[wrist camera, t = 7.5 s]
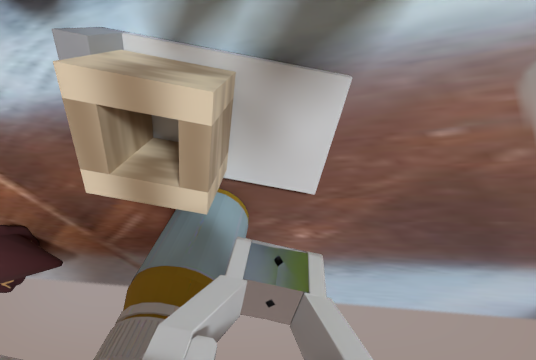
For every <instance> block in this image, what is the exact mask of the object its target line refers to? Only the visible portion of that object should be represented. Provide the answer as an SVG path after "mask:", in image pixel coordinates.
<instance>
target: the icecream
mask: <svg viewBox="0 0 536 360" xmlns="http://www.w3.org/2000/svg"><path fill="white" fill-rule="evenodd" d="M62 263H63V262H62V261H61V260H60V259H58V258H56V257H55V256H53V255H51V254H50V253H48V252H47V251H45V250H44V249H42V248H41V247H39V241H38V240H37V239H36V238H35V237H34V236H33V235H32V234H31V232H30V231H29V230H28V229H27V228H26V227H23V226H7V225H0V293H7V292H11V291H12V290H13V289H14V288H15V286H16V285H19V284H21V283H22V282H23V281H24V279H25V277H26V276H29V275H32V274H36V273H39V272H43V271H46V270H50V269H53V268H56V267H59V266H61V265H62Z"/></svg>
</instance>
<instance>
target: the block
mask: <svg viewBox="0 0 536 360" xmlns="http://www.w3.org/2000/svg"><path fill="white" fill-rule="evenodd" d="M53 64H54V68H55V71H56V75H57V79H58V83H59V87H60V91H61V95H62V99H63V103H64V107H65V111H66V115H67V119H68V123H69V127H70V131H71V135H72V139H73V143H74V146H75V150H76V154H77V158H78V162H79V166H80V170H81V174H82V178H83V182H84V186H85V190H86V193H91V194H96V195H102V196H107V197H113V198H118V199H124V200H129V201H135V202H140V203H146V204H151V205H157V206H162V207H168V208H173V209H179V210H184V211H190V212H195V213H201V214H206V215H207V213H208V211H209V209H210V207H211V204H212V202H213V200H214V197H215V195H216V193H217V191H218V188H219V186H220V184H221V182H222V179H223V177H224V175H225V173H226V170H227V160H228V150H229V139H230V128H231V118H232V107H233V97H234V86H235V76H236V72H234V71H229V70H224V69H219V68H213V67H208V66H203V65H198V64H193V63H188V62H182V61H177V60H172V59H167V58H162V57H157V56H151V55H146V54H141V53H136V52H131V51H126V50H116V51H111V52H105V53H99V54H93V55H87V56H81V57H75V58H69V59H63V60H57V61H53ZM152 115H156V116H161V117H166V118H171V119H177V120H178V129H179V142H175V141H170V140H165V139H159V138H154V137H153V125H152Z"/></svg>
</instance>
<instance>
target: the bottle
mask: <svg viewBox="0 0 536 360" xmlns="http://www.w3.org/2000/svg"><path fill="white" fill-rule="evenodd" d="M248 223H249V215H248V212H247V210H246V207H245V206H244V204H243V203H242V202H241V201H240V200H239V199H238V198H237V197H236V196H234V195H233V194H231V193H230V192H228V191H225V190H222V189H219V188H218V191H217V193H216V195H215V197H214V200H213V202H212V204H211V207H210V209H209V211H208V213H207V215H206V214H201V213H195V212H190V211H184V210H179V209H176V211H175V212H174V214H173V215H172V217H171V219H170V220H169V222H168V223H167V225H166V227H165V228H164V230H163V232H162V233H161V235H160V236H159V238H158V240H157V241H156V243H155V245H154V246H153V248H152V249H151V251H150V253H149V254H148V256H147V258H146V259H145V261H144V262H143V264H142V266H141V267H140V269H139V271H138V272H137V274H136V275H135V277H134V279H133V280H132V283H131V285H130V286H129V288H128V290H127V295H126V299H125V305H124V310H123V312H122V313H121V315H120V316H119V318H118V320H117V322H116V324H115V327H113V328H112V330H111V331H110V333H109V334H108V336H107V338H106V339H105V341H104V343H103V344H102V346H101V348H100V350H99V351H98V353H97V355H96V357H95V358H94V360H142V358H143V356H144V354H145V352H146V350H147V348H148V346H149V344H150V341H151V339H152V337H153V335H154V333H155V331H156V329H157V327H158V325H159V324H160V323H161V322H163V321H164V320H165V319H166V318H168V317H169V316H170V315H171V314H172V313H174V312H175V311H176V310H177V309H179V308H180V307H181V306H182V305H184V304H185V303H186V302H187V301H189V300H190V299H191V298H192V297H194V296H195V295H196V294H197V293H199V292H200V291H201V290H202V289H204V288H205V287H206V286H207V285H209V284H210V283H211V282H212V281H214V280H215V279H216V278H217V277H219V276H220V275H225V274H226V271H227V268H228V264H229V261H230V258H231V254H232V251H233V248H234V244H235V241H236V239H237V237H242V238H246V234H247V229H248Z"/></svg>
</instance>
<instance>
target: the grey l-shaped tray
mask: <svg viewBox="0 0 536 360" xmlns="http://www.w3.org/2000/svg"><path fill="white" fill-rule="evenodd" d="M52 32H53V36H54V41H55V45H56V49H57V53H58V57H59V60H63V59H69V58H75V57H81V56H87V55H93V54H99V53H105V52H111V51H116V50H126V51H131V52H136V53H141V54H146V55H151V56H157V57H162V58H167V59H172V60H177V61H182V62H188V63H193V64H198V65H203V66H208V67H213V68H219V69H224V70H229V71H234V72H236V76H235V86H234V97H233V107H232V118H231V128H230V139H229V150H228V160H227V170H226V173H225V175H224V177H223V178H228V179H234V180H239V181H244V182H250V183H255V184H261V185H266V186H271V187H277V188H282V189H288V190H293V191H298V192H304V193H309V194H315V192H316V189H317V186H318V183H319V180H320V177H321V173H322V170H323V167H324V164H325V161H326V158H327V155H328V152H329V149H330V146H331V143H332V139H333V136H334V133H335V130H336V127H337V124H338V121H339V118H340V115H341V112H342V109H343V106H344V102H345V99H346V96H347V93H348V90H349V87H350V84H351V81H352V77H351V76H350V75H345V74H340V73H335V72H330V71H325V70H319V69H314V68H309V67H304V66H299V65H294V64H289V63H284V62H278V61H273V60H268V59H263V58H258V57H253V56H248V55H243V54H237V53H232V52H227V51H222V50H217V49H212V48H207V47H202V46H196V45H191V44H186V43H181V42H176V41H171V40H166V39H161V38H155V37H150V36H145V35H140V34H135V33H130V32H125V31H120V30H114V29H109V28H104V27H87V28H56V29H52ZM152 125H153V137H154V138H159V139H165V140H170V141H175V142H179V129H178V120H177V119H171V118H166V117H161V116H156V115H152Z"/></svg>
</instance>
